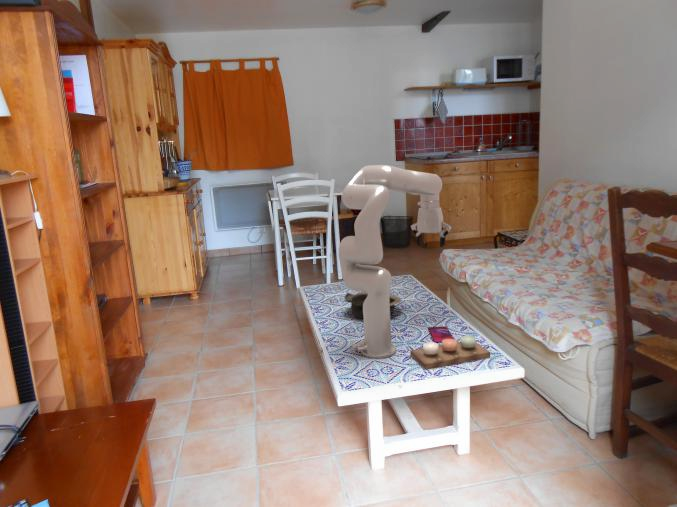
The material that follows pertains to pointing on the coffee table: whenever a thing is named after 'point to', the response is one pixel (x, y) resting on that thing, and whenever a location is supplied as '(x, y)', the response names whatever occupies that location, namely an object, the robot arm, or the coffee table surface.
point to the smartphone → (440, 333)
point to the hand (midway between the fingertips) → (431, 245)
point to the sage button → (467, 341)
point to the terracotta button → (449, 344)
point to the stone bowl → (359, 299)
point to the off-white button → (430, 348)
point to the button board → (449, 356)
